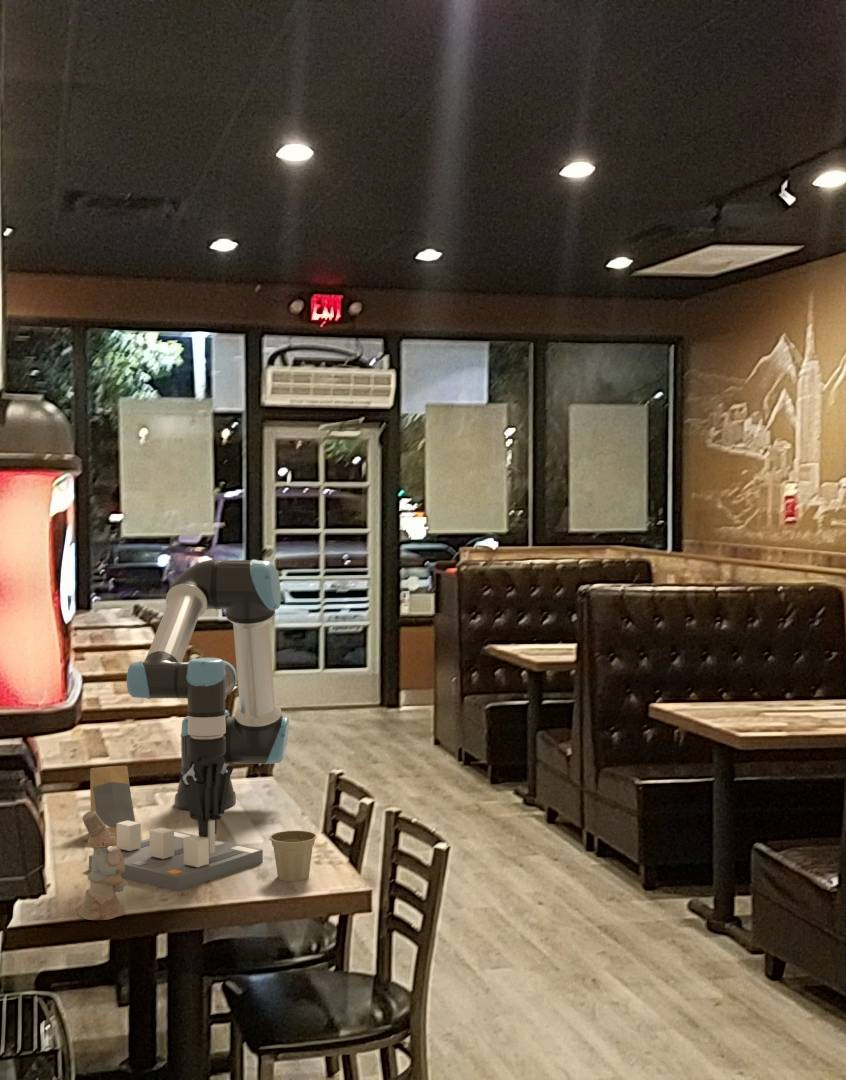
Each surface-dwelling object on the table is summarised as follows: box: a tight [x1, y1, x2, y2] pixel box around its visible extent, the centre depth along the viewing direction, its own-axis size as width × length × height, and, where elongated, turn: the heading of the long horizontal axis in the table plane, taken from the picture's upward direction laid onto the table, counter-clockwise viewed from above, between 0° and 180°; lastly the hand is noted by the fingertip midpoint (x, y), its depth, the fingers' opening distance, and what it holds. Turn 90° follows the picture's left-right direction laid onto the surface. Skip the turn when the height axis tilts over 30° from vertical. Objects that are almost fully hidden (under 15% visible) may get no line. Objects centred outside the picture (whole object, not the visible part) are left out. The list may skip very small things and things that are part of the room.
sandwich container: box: [89, 765, 136, 847], centre depth 284 cm, size 9×15×15 cm, turn 23°
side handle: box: [116, 820, 142, 851], centre depth 264 cm, size 3×4×5 cm
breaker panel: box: [88, 830, 264, 892], centre depth 261 cm, size 24×26×3 cm
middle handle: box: [149, 827, 175, 859], centre depth 258 cm, size 3×4×5 cm
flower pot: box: [269, 829, 318, 882], centre depth 253 cm, size 9×9×9 cm
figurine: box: [77, 810, 129, 921], centre depth 230 cm, size 9×8×20 cm
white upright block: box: [183, 834, 209, 867], centre depth 252 cm, size 3×4×5 cm
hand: (207, 851), depth 255 cm, fingers closed
